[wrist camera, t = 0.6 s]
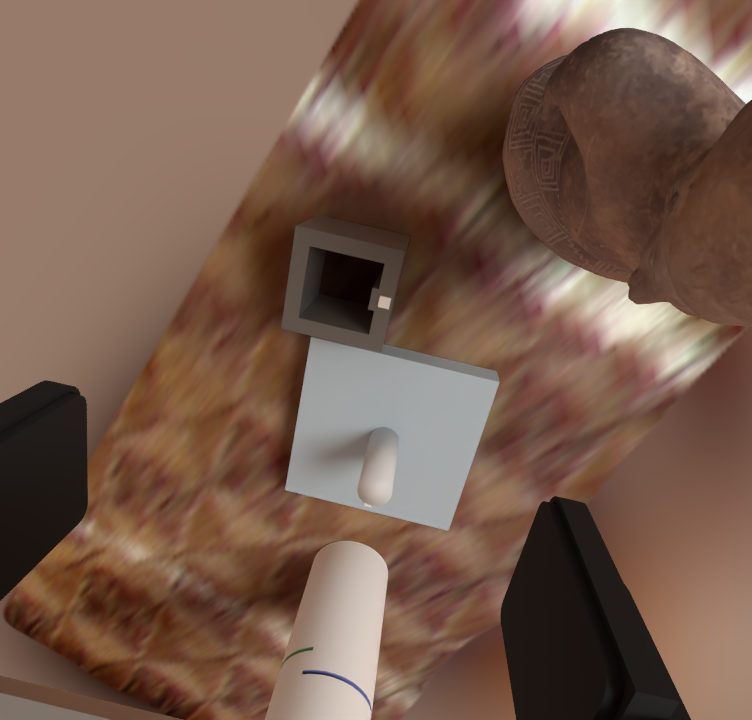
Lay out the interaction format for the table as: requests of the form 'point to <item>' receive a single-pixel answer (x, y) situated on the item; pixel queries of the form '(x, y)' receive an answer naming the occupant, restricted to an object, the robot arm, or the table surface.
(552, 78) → the clay figurine
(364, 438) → the shaft base
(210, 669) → the table surface
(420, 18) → the table surface
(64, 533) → the robot arm
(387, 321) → the square tunnel housing
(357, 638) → the cylindrical container
